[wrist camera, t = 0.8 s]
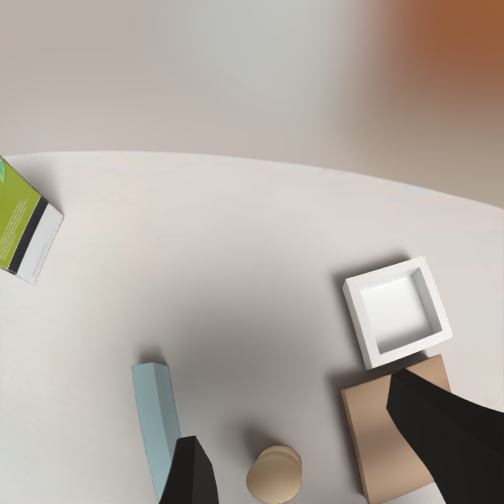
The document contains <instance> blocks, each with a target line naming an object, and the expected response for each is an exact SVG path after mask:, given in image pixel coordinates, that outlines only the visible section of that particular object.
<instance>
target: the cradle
mask: <svg viewBox="0 0 504 504" xmlns="http://www.w3.org/2000/svg"><path fill="white" fill-rule="evenodd" d="M342 290H343V293H344V296H345V299H346V302H347V306H348V309H349V312H350V315H351V319H352V322H353V325H354V329H355V332H356V336H357V339H358V342H359V346H360V350H361V353H362V357H363V360H364V364H365V368H366V370H369V369H372V368H375V367H378V366H381V365H384V364H386V363H389V362H392V361H395V360H397V359H400V358H403V357H405V356H408V355H411V354H413V353H416V352H418V351H421V350H423V349H426V348H428V347H430V346H433V345H435V344H437V343H440V342H442V341H444V340H447V339H449V338H451V337H453V334H452V331H451V328H450V324H449V321H448V318H447V315H446V312H445V310H444V307H443V304H442V301H441V298H440V296H439V293H438V290H437V287H436V285H435V282H434V280H433V277H432V275H431V272H430V270H429V267H428V265H427V262H426V260H425V257H424V255H423V256H420V257H417V258H414V259H411V260H408V261H404V262H401V263H398V264H395V265H392V266H388V267H385V268H382V269H378V270H375V271H372V272H368V273H365V274H361V275H358V276H354V277H351V278H347V279H346V280H345V282H344V285H343V288H342Z"/></svg>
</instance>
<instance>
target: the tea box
mask: <svg viewBox="0 0 504 504" xmlns="http://www.w3.org/2000/svg"><path fill="white" fill-rule="evenodd" d="M63 218H64V215H63V214H61V213H60V212H59V211H58V210H57V209H56V208H55V207H54V206H53V205H52V204H51V203H49V202H48V201H47V200H46V199H45V198H44V197H43V196H42V195H41V194H40V193H38V192H37V191H36V190H35V189H34V188H33V187H32V186H31V185H30V184H29V183H28V182H27V181H26V180H24V178H23V177H21V176H20V175H19V174H18V173H17V172H16V171H15V170H14V169H13V168H12V167H11V166H10V165H9V164H8V163H7V162H6V161H5V160H4V159H3V158H2V157H1V156H0V268H1V269H3V270H5V271H7V272H9V273H11V274H13V275H15V276H17V277H19V278H21V279H23V280H25V281H27V282H29V283H31V284H35V283H36V281H37V278H38V276H39V273H40V271H41V268H42V266H43V263H44V261H45V259H46V256H47V254H48V251H49V249H50V247H51V245H52V242H53V240H54V238H55V236H56V234H57V231H58V229H59V227H60V225H61V223H62V220H63Z"/></svg>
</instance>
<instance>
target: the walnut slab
mask: <svg viewBox="0 0 504 504" xmlns="http://www.w3.org/2000/svg"><path fill="white" fill-rule="evenodd" d="M405 368H406V369H408V370H409V371H411V372H413V373H415V374H417V375H418V376H420V377H422V378H424V379H426V380H427V381H429V382H431V383H433V384H435V385H437V386H439V387H440V388H442V389H444V390H446V391H448V392H450V393H451V390H450V386H449V382H448V378H447V375H446V371H445V367H444V363H443V360H442V356H441V354H439V355H436V356H433V357H430V358H427V359H425V360H422V361H420V362H418V363H415V364H413V365H410V366H408V367H405ZM400 370H401V369H400ZM397 371H399V370H397ZM397 371H395V372H397ZM395 372H392V373H395ZM392 373H389V374H387V375H384V376H381V377H378V378H376V379H373V380H370V381H367V382H364V383H361V384H358V385H355V386H352V387H348V388H345V389H342V390H340V392H341V396H342V400H343V404H344V408H345V412H346V416H347V420H348V424H349V428H350V432H351V437H352V441H353V445H354V450H355V454H356V459H357V463H358V468H359V472H360V477H361V482H362V487H363V492H364V497H365V498H366V500H367V502H368V503H369V504H381V503H383V502H386V501H389V500H392V499H394V498H397V497H399V496H402V495H404V494H407V493H409V492H412V491H414V490H416V489H419V488H421V487H423V486H425V485H428V484H430V483H432V482H434V479H433V478H432V476H431V474H430V472H429V471H428V469H427V468H426V466H425V465H424V464H423V462H422V461H421V460H420V458H419V457H418V456H417V454H416V453H415V452H414V450H413V449H412V448H411V447H410V445H409V444H408V443H407V441H406V440H405V439H404V437H403V436H402V435H401V433H400V432H399V430H398V429H397V428H396V426H395V424H394V422H393V421H392V419H391V417H390V415H389V413H388V411H387V409H386V405H387V399H388V393H389V386H390V379H391V374H392Z"/></svg>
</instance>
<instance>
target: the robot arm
mask: <svg viewBox="0 0 504 504" xmlns="http://www.w3.org/2000/svg"><path fill="white" fill-rule="evenodd" d="M386 409H387V411H388V413H389V415H390V417H391V419H392V421H393V422H394V424H395V426H396V428H397V429H398V430H399V432H400V433H401V435H402V436H403V437H404V439H405V440H406V441H407V443H408V444H409V445H410V447H411V448H412V449H413V450H414V452H415V453H416V454H417V456H418V457H419V458H420V460H421V461H422V462H423V464H424V465H425V466H426V468H427V469H428V471H429V472H430V474H431V476H432V478H433V479H434V481H435V483H436V485H437V487H438V488H439V490H440V492H441V494H442V496H443V498H444V500H445V502H446V504H504V413H503V412H499V411H496V410H493V409H489V408H486V407H483V406H480V405H478V404H475V403H473V402H470V401H468V400H465V399H463V398H461V397H459V396H456V395H454V394H452V393H450V392H448V391H446V390H444V389H442V388H440V387H439V386H437V385H435V384H433V383H431V382H429V381H427V380H426V379H424V378H422V377H420V376H418V375H417V374H415V373H413V372H411V371H409V370H408V369H406V368H403V369H401V370H399V371H397V372H395V373H392V374H391V379H390V386H389V393H388V399H387V405H386ZM159 504H219V500H218V491H217V485H216V481H215V476H214V472H213V468H212V464H211V462H210V460H209V459H208V457H207V455H206V454H205V452H204V450H203V448H202V447H201V445H200V443H199V441H198V439H197V438H196V436H189V437H184V438H178V439H177V440H176V445H175V450H174V454H173V459H172V463H171V467H170V470H169V474H168V477H167V481H166V484H165V487H164V490H163V493H162V496H161V499H160V502H159Z"/></svg>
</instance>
